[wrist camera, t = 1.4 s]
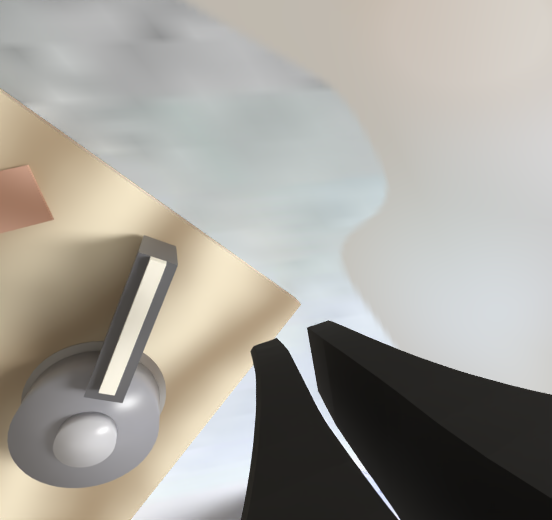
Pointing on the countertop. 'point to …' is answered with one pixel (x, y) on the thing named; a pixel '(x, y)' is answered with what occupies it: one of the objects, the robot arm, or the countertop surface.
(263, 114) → the countertop surface
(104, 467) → the peg dial
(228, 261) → the tuner board
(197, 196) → the countertop surface
